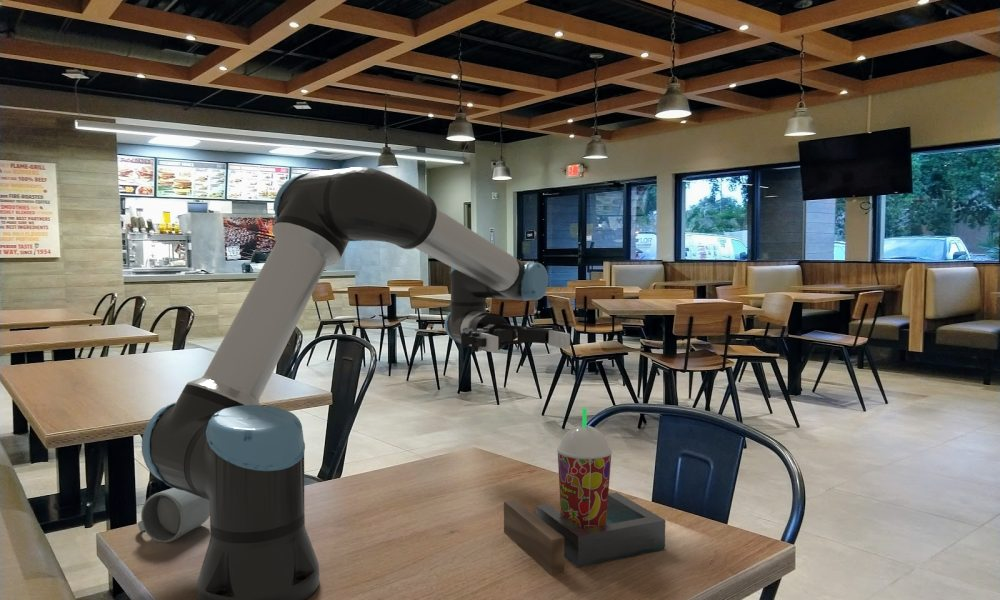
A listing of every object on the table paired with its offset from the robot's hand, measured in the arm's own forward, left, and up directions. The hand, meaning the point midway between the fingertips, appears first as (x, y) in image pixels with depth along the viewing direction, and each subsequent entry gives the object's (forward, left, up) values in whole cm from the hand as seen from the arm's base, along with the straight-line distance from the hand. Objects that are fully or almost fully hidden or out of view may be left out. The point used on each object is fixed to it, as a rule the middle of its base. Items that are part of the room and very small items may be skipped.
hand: (533, 343), depth 115 cm
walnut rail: (-7, -14, -29) cm, 33 cm away
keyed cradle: (+4, -14, -29) cm, 33 cm away
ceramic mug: (-57, +15, -29) cm, 66 cm away
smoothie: (+2, -14, -29) cm, 32 cm away
